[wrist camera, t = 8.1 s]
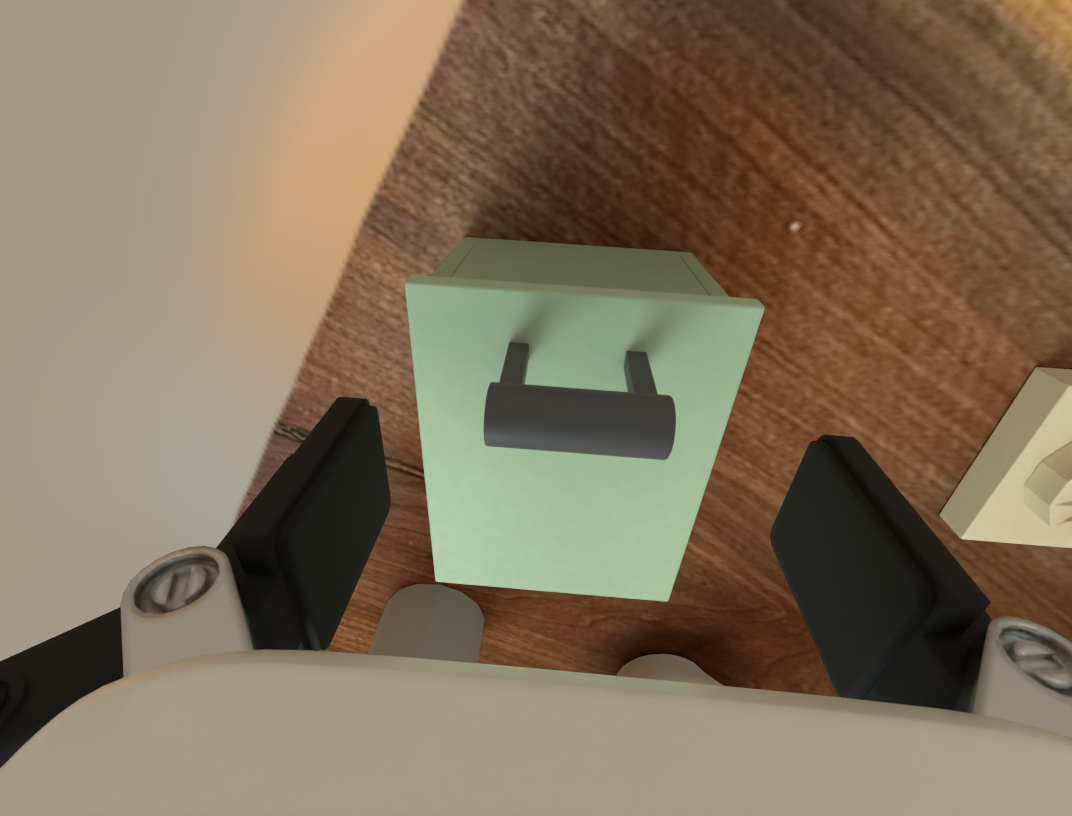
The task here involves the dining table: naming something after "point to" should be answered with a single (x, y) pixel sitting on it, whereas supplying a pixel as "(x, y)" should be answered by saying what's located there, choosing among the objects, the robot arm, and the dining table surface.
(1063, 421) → the panel
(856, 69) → the dining table surface
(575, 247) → the green hinged box
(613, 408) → the lid
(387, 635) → the cup
